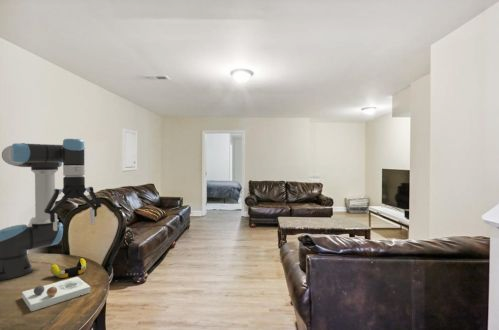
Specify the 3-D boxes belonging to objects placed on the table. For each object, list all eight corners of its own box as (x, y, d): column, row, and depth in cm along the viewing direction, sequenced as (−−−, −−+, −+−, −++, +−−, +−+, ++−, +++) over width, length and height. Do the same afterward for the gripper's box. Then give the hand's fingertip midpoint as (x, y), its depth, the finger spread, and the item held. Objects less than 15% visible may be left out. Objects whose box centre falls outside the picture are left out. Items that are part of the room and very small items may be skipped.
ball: (32, 294, 110) (32, 285, 110) (43, 291, 113) (43, 283, 113) (34, 297, 108) (34, 288, 108) (45, 294, 111) (45, 285, 111)
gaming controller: (49, 275, 136) (54, 281, 129) (49, 264, 136) (54, 269, 129) (84, 267, 147) (90, 272, 140) (84, 256, 147) (90, 261, 140)
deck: (22, 297, 113) (22, 291, 113) (77, 282, 128) (77, 276, 128) (31, 311, 102) (31, 304, 102) (90, 292, 117) (90, 286, 117)
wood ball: (45, 296, 109) (45, 287, 109) (55, 293, 111) (55, 284, 111) (47, 298, 107) (47, 289, 107) (58, 295, 109) (58, 286, 109)
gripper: (39, 177, 103) (40, 234, 104) (109, 175, 122) (109, 223, 122) (34, 177, 108) (35, 231, 109) (102, 174, 127) (102, 221, 127)
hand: (74, 227), depth 115 cm, fingers open, 13 cm apart
